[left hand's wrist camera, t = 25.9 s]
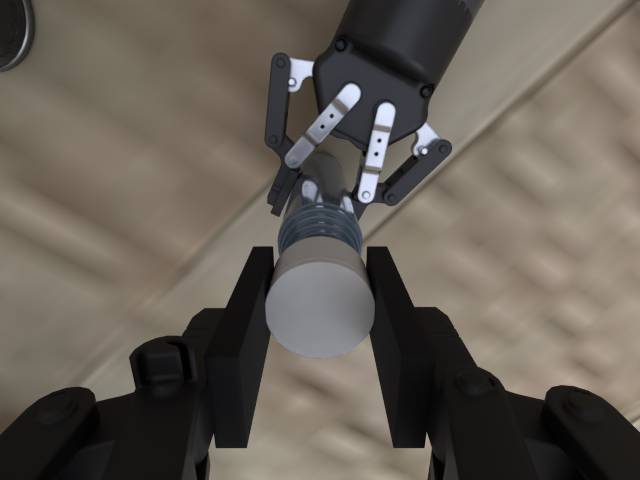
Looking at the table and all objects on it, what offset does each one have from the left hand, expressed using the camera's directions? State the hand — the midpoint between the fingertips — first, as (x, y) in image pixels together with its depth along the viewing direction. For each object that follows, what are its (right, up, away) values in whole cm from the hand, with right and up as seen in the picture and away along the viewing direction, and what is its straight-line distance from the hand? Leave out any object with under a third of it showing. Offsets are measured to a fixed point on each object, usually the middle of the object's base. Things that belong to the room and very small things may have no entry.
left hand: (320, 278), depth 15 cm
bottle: (0, +7, +20) cm, 21 cm away
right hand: (-1, +3, +14) cm, 14 cm away
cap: (0, -1, -2) cm, 2 cm away
